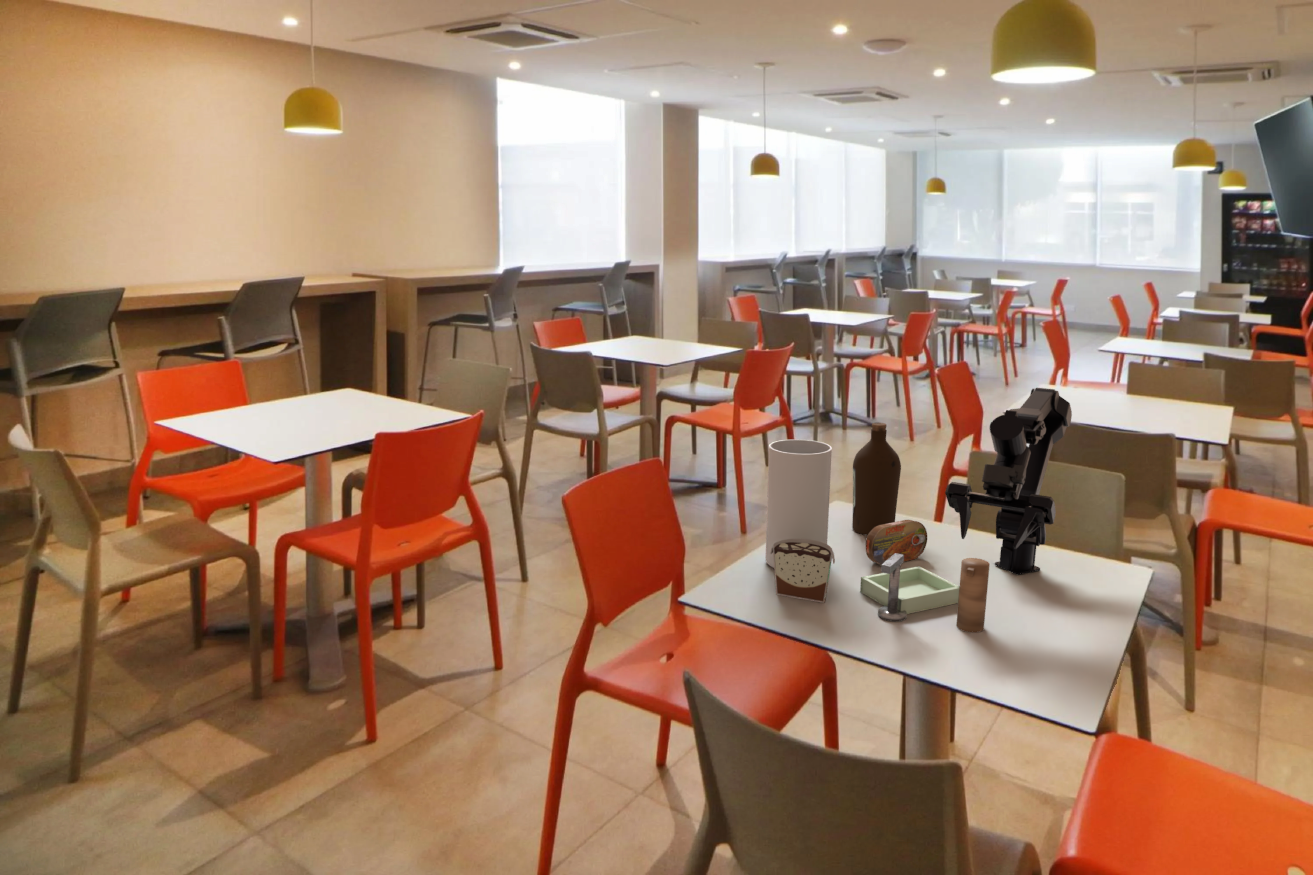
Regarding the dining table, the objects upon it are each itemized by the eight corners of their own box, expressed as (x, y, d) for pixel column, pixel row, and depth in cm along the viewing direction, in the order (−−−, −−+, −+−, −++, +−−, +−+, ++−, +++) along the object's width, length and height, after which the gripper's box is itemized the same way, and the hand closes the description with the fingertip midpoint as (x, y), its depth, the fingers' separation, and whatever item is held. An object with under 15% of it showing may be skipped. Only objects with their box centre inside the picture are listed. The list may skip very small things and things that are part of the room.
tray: (918, 580, 188) (919, 566, 187) (960, 602, 177) (961, 587, 176) (860, 591, 182) (861, 577, 181) (900, 615, 171) (901, 599, 171)
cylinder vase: (836, 571, 193) (842, 451, 187) (780, 577, 189) (784, 456, 183) (810, 550, 204) (814, 437, 198) (756, 556, 201) (759, 441, 195)
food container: (840, 592, 182) (842, 543, 179) (832, 604, 176) (834, 553, 174) (778, 582, 187) (780, 533, 184) (768, 593, 181) (770, 543, 179)
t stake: (883, 607, 175) (887, 550, 172) (910, 614, 172) (914, 555, 169) (868, 622, 168) (872, 562, 166) (895, 628, 166) (899, 568, 163)
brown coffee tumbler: (960, 619, 170) (965, 556, 167) (986, 625, 167) (992, 561, 164) (951, 630, 165) (956, 565, 162) (977, 637, 163) (983, 571, 160)
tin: (871, 569, 194) (874, 529, 192) (861, 564, 197) (863, 525, 195) (927, 557, 201) (930, 519, 199) (916, 552, 203) (919, 515, 201)
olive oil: (901, 526, 220) (908, 421, 214) (890, 540, 211) (897, 431, 205) (856, 520, 225) (862, 417, 219) (843, 533, 215) (849, 425, 210)
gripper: (952, 439, 176) (929, 511, 169) (1058, 453, 166) (1038, 530, 159) (961, 471, 184) (939, 541, 177) (1063, 486, 174) (1044, 560, 167)
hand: (988, 542), depth 170 cm, fingers open, 9 cm apart
